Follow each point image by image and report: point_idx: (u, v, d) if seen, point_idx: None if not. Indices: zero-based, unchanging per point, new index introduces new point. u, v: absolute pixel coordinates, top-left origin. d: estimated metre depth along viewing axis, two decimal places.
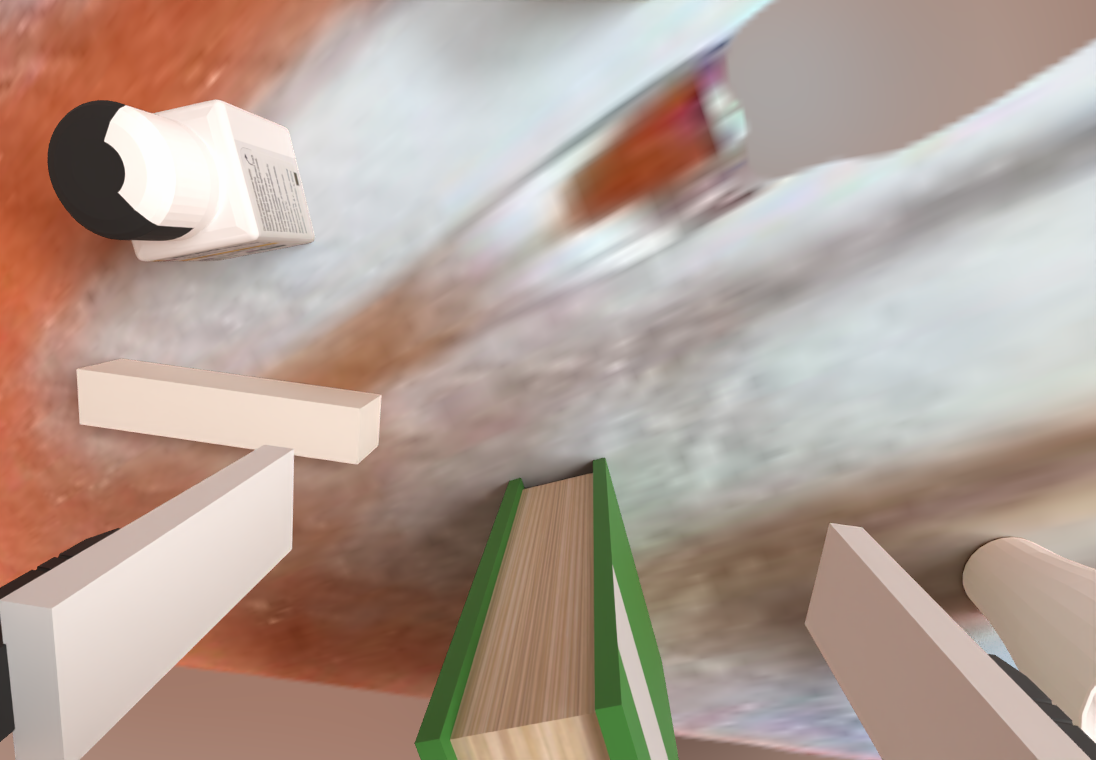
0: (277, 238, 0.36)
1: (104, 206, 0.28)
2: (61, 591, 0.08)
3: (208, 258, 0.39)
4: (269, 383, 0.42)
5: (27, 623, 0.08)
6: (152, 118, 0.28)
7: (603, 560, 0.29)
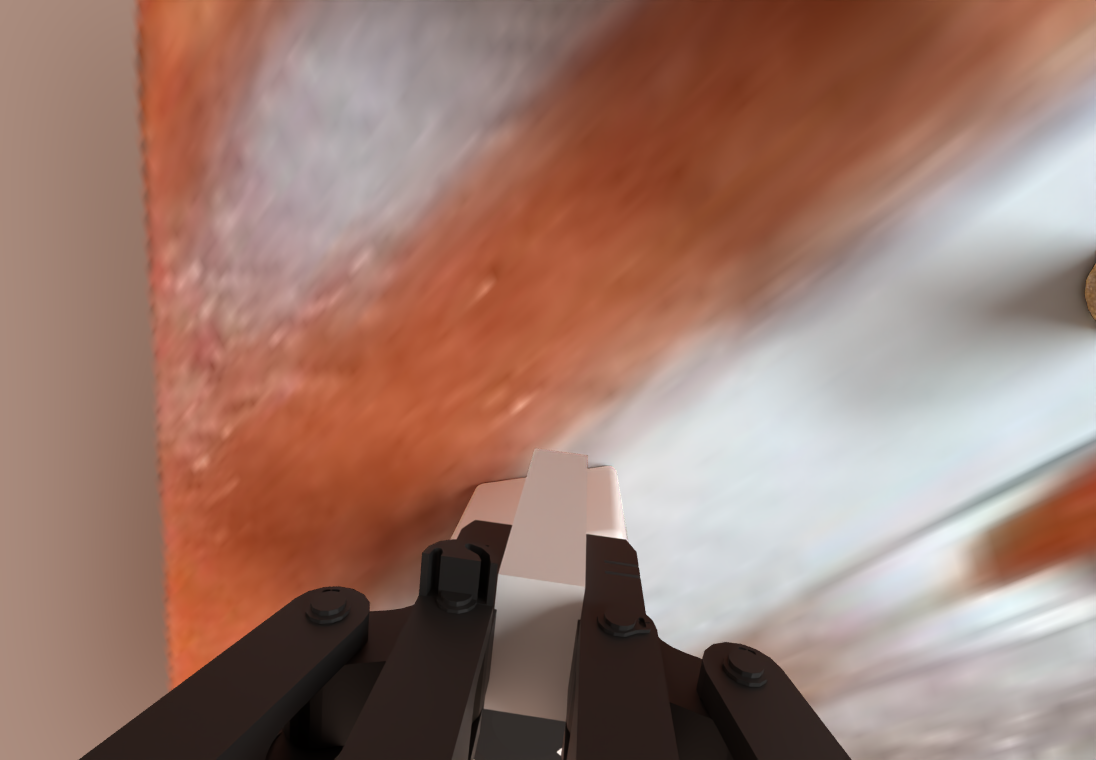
0: None
1: None
2: (532, 568, 0.10)
3: None
4: None
5: (518, 592, 0.10)
6: None
7: None
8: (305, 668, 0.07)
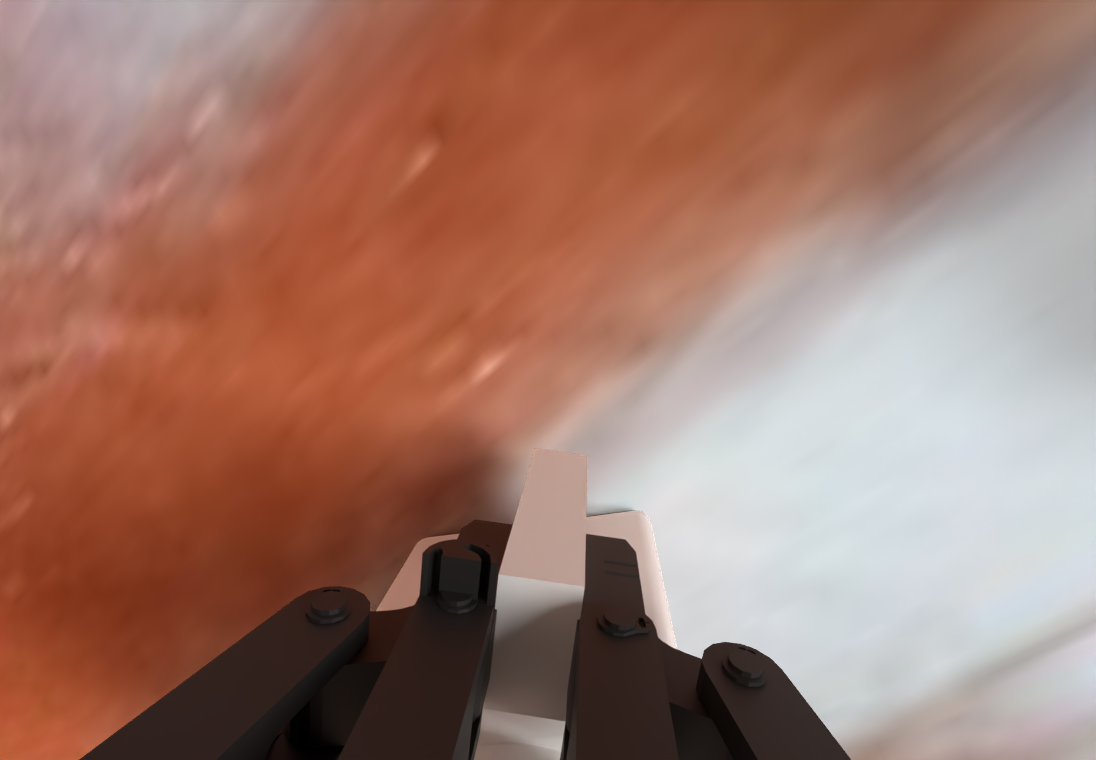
0: None
1: None
2: (532, 568, 0.10)
3: None
4: None
5: (518, 592, 0.10)
6: None
7: None
8: (305, 668, 0.07)
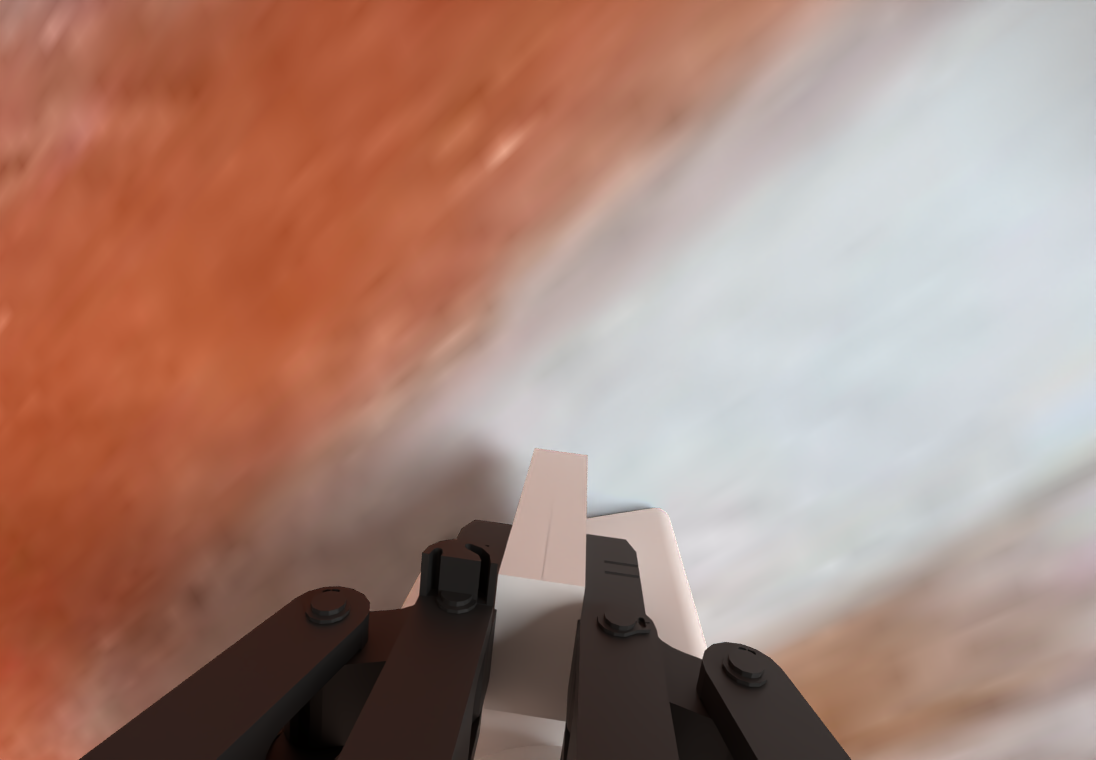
0: None
1: None
2: (532, 567, 0.10)
3: None
4: None
5: (518, 592, 0.10)
6: None
7: None
8: (305, 668, 0.07)
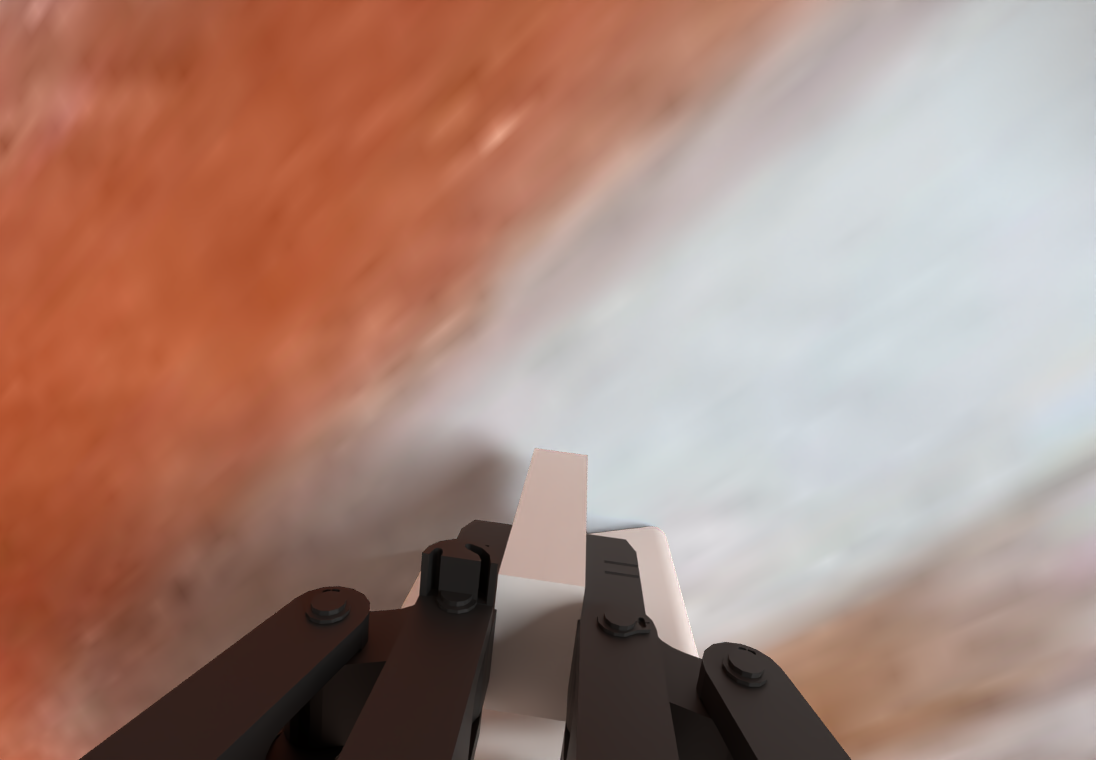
0: None
1: None
2: (532, 567, 0.10)
3: None
4: None
5: (518, 592, 0.10)
6: None
7: None
8: (305, 668, 0.07)
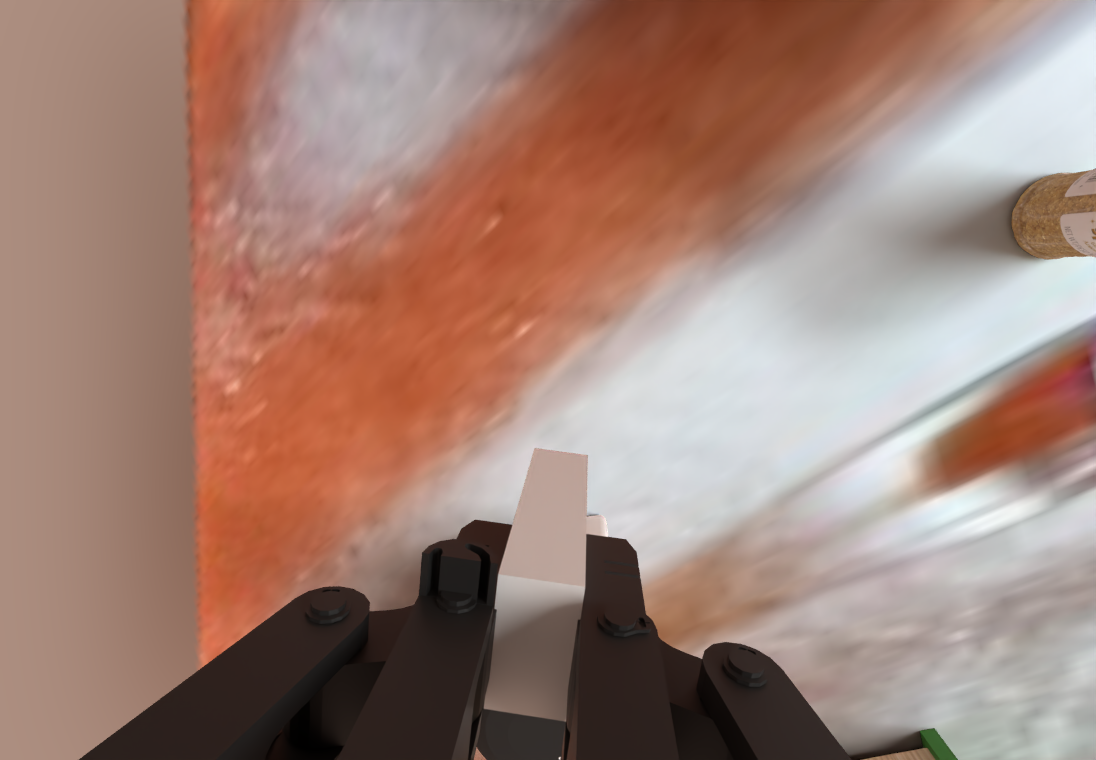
0: None
1: None
2: (532, 568, 0.10)
3: None
4: None
5: (518, 593, 0.10)
6: None
7: None
8: (305, 668, 0.07)
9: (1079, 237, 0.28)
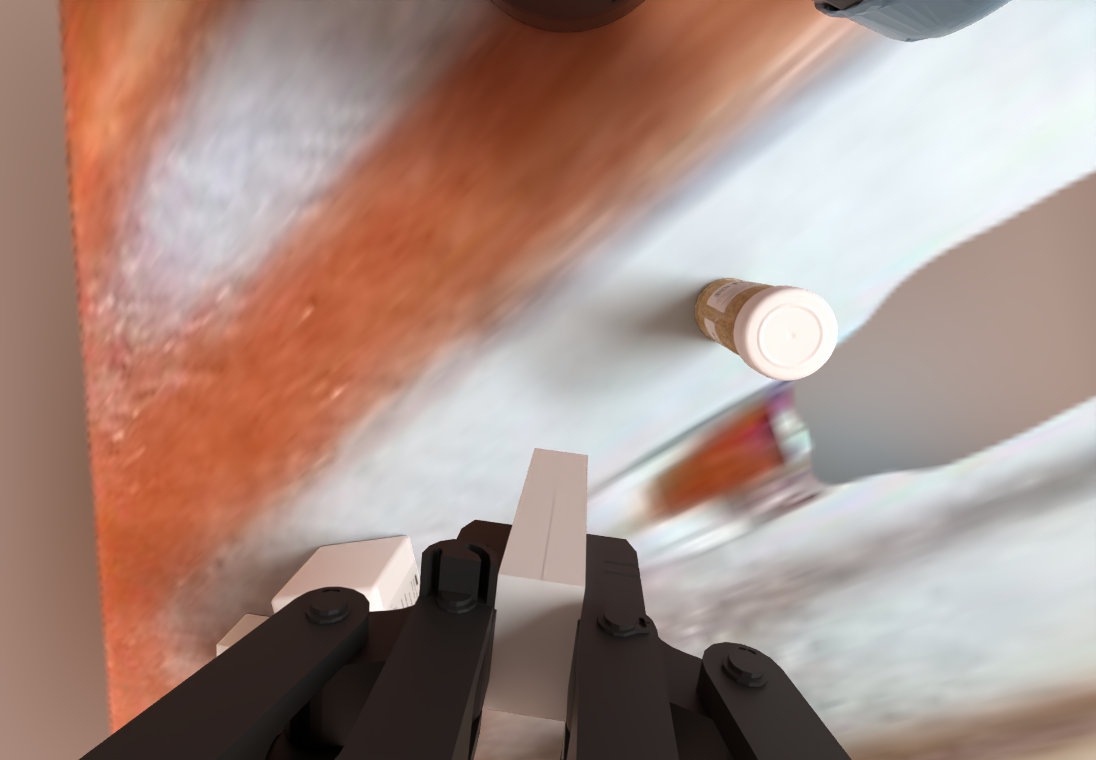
0: None
1: None
2: (532, 568, 0.10)
3: None
4: None
5: (518, 592, 0.10)
6: None
7: None
8: (305, 668, 0.07)
9: (712, 336, 0.37)
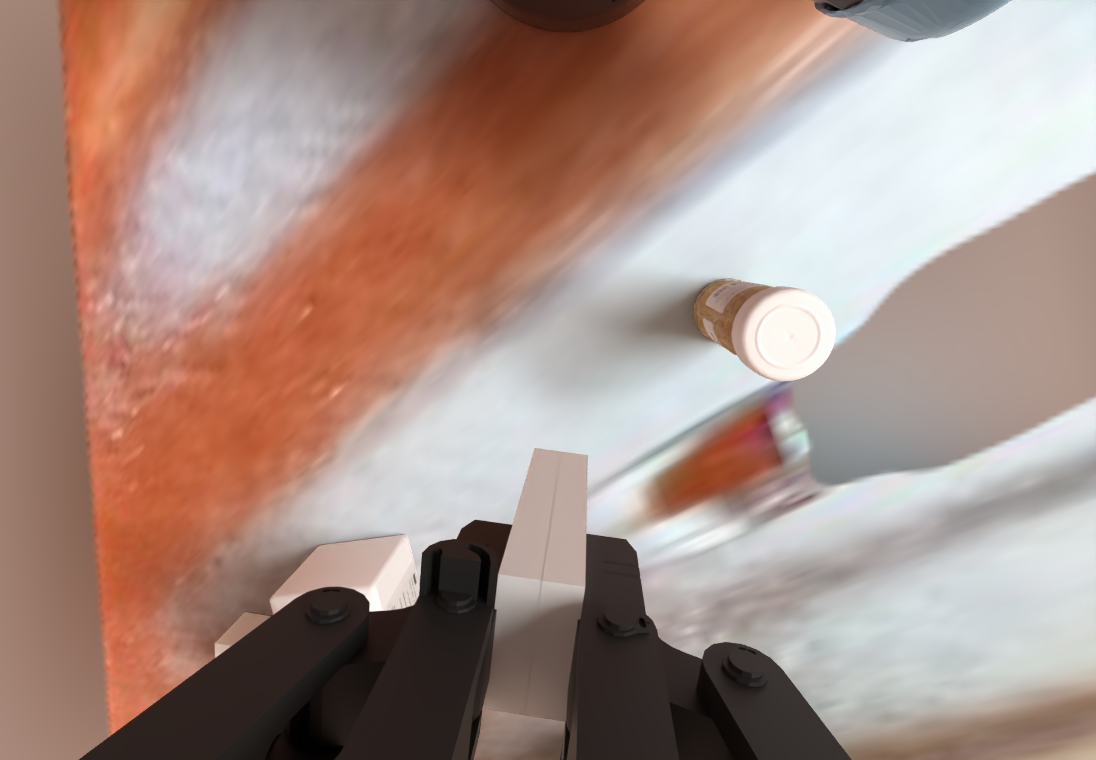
0: None
1: None
2: (532, 568, 0.10)
3: None
4: None
5: (518, 592, 0.10)
6: None
7: None
8: (305, 668, 0.07)
9: (710, 336, 0.37)
